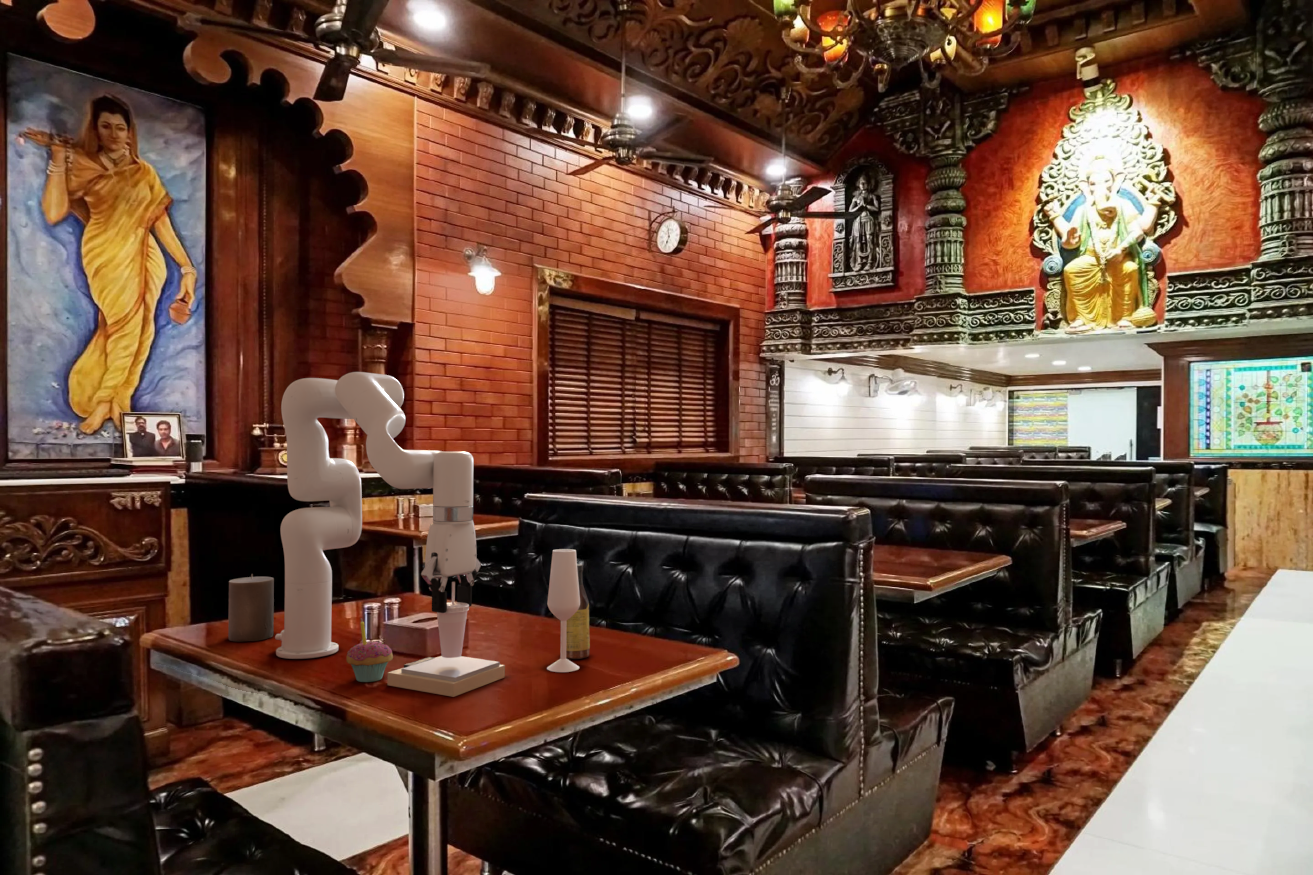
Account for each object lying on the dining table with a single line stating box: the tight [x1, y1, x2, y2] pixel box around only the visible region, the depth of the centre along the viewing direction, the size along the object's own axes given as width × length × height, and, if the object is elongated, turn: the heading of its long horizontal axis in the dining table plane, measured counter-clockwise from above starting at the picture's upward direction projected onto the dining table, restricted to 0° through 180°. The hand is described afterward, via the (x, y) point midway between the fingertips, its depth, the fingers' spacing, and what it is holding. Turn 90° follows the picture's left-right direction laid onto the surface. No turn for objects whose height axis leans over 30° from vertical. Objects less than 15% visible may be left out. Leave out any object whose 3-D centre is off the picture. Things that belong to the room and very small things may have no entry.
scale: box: [386, 655, 506, 698], centre depth 159 cm, size 16×15×3 cm
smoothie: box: [436, 581, 470, 658], centre depth 159 cm, size 6×6×14 cm
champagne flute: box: [546, 548, 580, 673], centre depth 170 cm, size 7×7×24 cm
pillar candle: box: [227, 573, 275, 643], centre depth 196 cm, size 10×10×15 cm
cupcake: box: [346, 617, 394, 683], centre depth 161 cm, size 9×8×12 cm
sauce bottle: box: [559, 563, 591, 660], centre depth 180 cm, size 7×6×20 cm
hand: (451, 608), depth 159 cm, fingers closed on smoothie, 6 cm apart
